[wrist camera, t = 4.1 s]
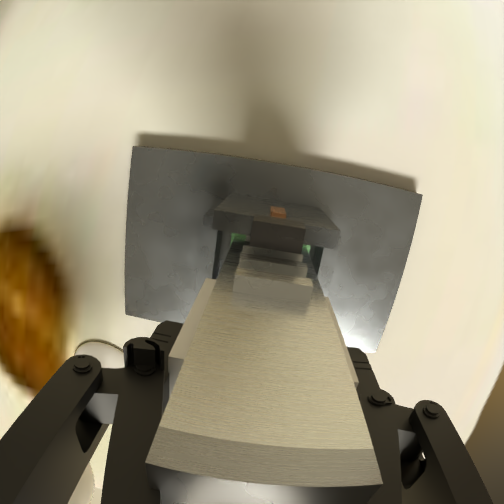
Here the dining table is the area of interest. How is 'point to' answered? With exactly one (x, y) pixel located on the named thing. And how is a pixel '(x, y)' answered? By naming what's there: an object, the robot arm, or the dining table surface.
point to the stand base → (263, 232)
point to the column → (264, 396)
